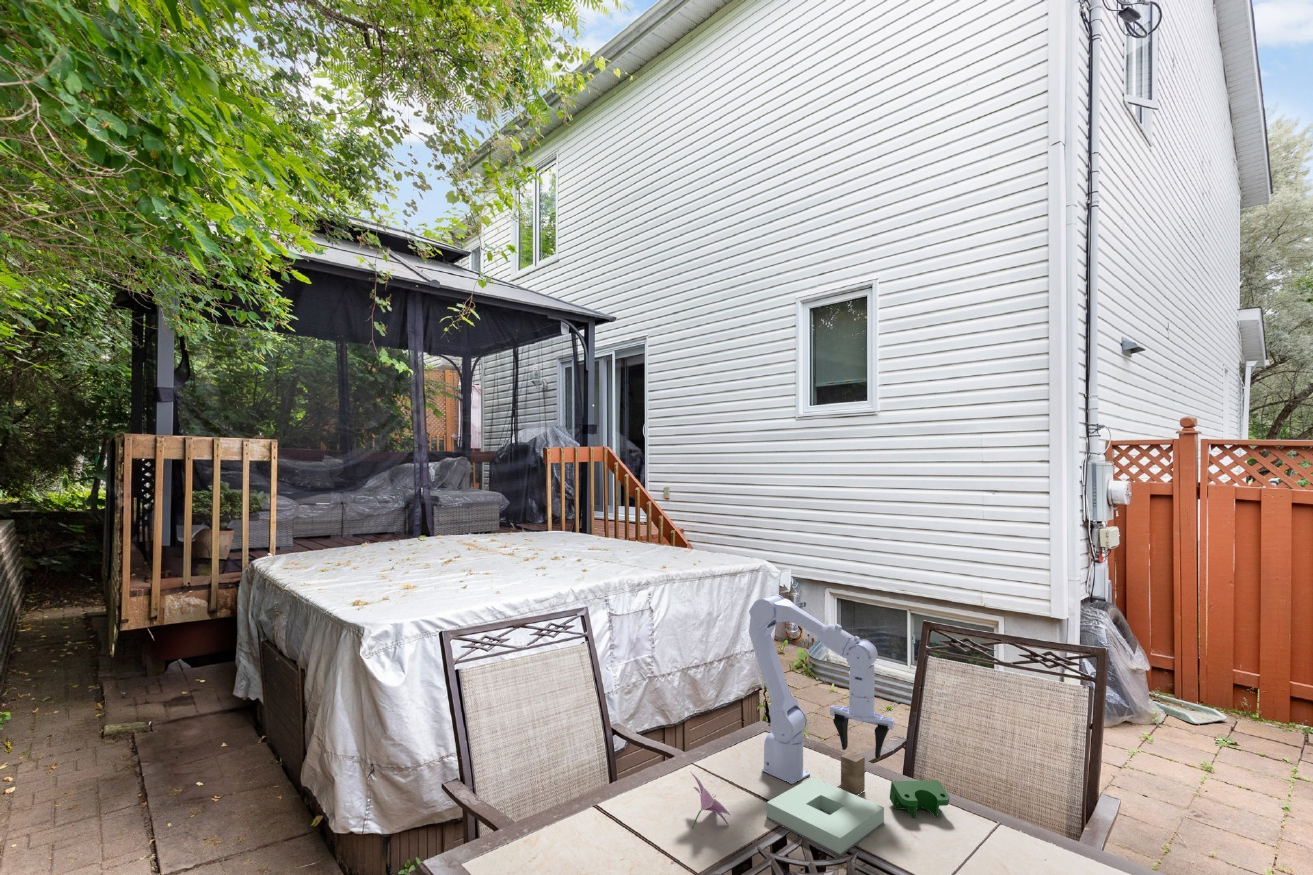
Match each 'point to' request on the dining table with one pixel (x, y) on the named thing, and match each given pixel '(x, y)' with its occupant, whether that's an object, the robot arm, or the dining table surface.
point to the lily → (709, 802)
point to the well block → (826, 815)
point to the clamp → (918, 796)
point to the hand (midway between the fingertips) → (861, 752)
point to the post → (853, 773)
